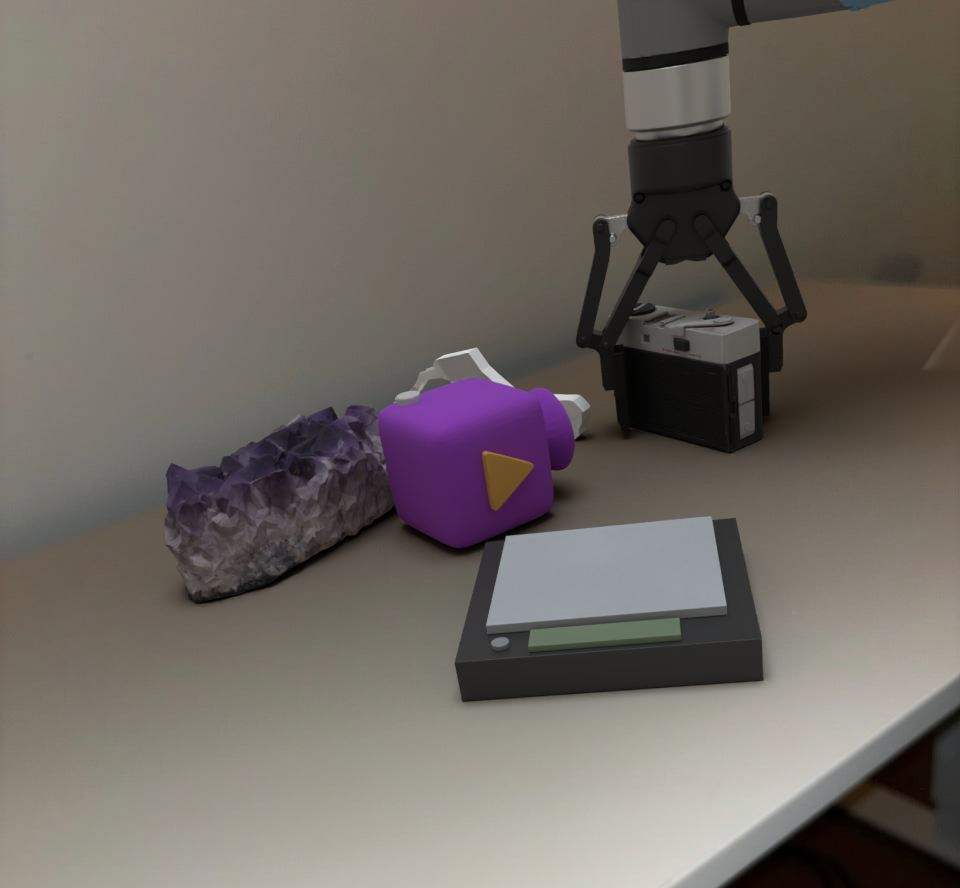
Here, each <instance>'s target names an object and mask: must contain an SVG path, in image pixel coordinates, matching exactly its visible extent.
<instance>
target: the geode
mask: <svg viewBox="0 0 960 888" xmlns="http://www.w3.org/2000/svg"><path fill="white" fill-rule="evenodd" d="M379 414H380V412H379V411H378V410H377V409H376V408H375V407H372V406H369V405H361V404H351V405H349V406H347V407H346V410H345V414H344V416H339V417H338V416H337V413H336V412H335V409H334V407H333V406H328V407H325V408H323V409H321V410H319V411H317V412H315V413H311V414H310V415H308V416H306V415H303V414H300V413H298V414H297V415H296V416H295V417H294V418H292V419H290V420H289V421H288V423H287V424H286V425H285V424H281V425H280V426H278V427H276V428H274V429H273V430H271V432H270V434H269V435H267V436H265V437H264V438H262V439H260V440H258V441H257V442H256V441H250V442H248V443H247V444H246V445H243V446H242V447H239V448H238V449H237V450H236V451H234V452H231V453H230V455H224V456H222V459H221V461H220V464H219V466H217V465H202V466H195V467H192V468H190V469H186V468H184V467H182V466H180V465H178V464H176V463H173V462H170V464H169V466H168V468H167V470H166V473H165V478H166V486H167V497H166V502H165V506H166V510H167V513H166V514H165V516H164V521H163V522H164V525H163V526H164V531H165V534H164V537H165V538H164V546H166V547H167V548H168V550H169V551H170V552H171V554H173V556H174V558H175V569H176V570H177V572H179V573H180V575H181V578H182V579H183V581H184V583H185V586H186V593H187V599H192V600H193V601H194V602H195V603H197V602H200V603H201V602H208V601H211V600H215V599H219V598H224V597H230V596H239V595H241V594H243V593H246V592H247V591H250V590H253V589H257V588H260V587H264V586H266V585H267V584H270V583H272V582H274V581H276V580H277V579H279V577H281V576H283V575H284V574H285V573H287V572H288V571H290V570H291V569H293V568H296V566H298V565H300V564H302V563H304V562H306V561H307V560H309V559H311V557H313V556H314V555H317V554H320V553H322V552H323V551H325V550H327V549H328V548H330V547H332V546H334V545H336V544H339V543H341V542H342V541H343V540H344V539H345V538H346V537H347V536H356V535H357V534H359V532H360V531H361V529H362V528H365V527H367V526H370V525H371V524H372V523H373V522H374V521H375V520H377V519H379V518H380V517H382V516H383V515H385V514H386V513H388V512H389V511H391V510H392V508H393V507H395V504H394V500H393V496H392V491H391V486H390V482H389V477H388V473H387V468H386V463H385V459H384V454H383V449H382V445H381V439H380V434H379V427H378V417H379Z"/></svg>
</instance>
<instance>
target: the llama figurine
mask: <svg viewBox="0 0 960 888" xmlns="http://www.w3.org/2000/svg"><path fill="white" fill-rule="evenodd" d="M468 378H480V379H485V380H489V381H493V382H497V383H500V384H504V385H508V386H511V387H514V385H512V384H511V383H510V382H509V381H508V380H507V379H506V378H504V377H503V376H502V375H501V374H500V373H499V372H497V371H496V369H494V368H493V367H492V366H491V365H490V363H488V361H487V360H486V358H485V356H483V354H482V353H481V351H480V350H479V348H478V347H474V348H469V349H465V350H459V351H456V352H451V353H447V354H443V355H441V356H440V357H438V358H436V359H434V361H433V364H432V366H431V367H427V368H425V370H424V371H420V372H419V373H418V376H417V379H416V381H415V384H413V386H412V387H411V389H410V390H409V391H418V392H420V393H422V391H423V390H424V388H425V386H426V385H427V384H428V382H429V381H430V380H437V379H443V380H445V381H449V382H450V383H454V382H457V381H460V380H463V379H468ZM553 394H554V395H555V396H556V397H557V399H558V400H559V401H560V402H561V404H562V405H563V407H564V409H565V410H566V412H567V414H568V417H569V419H570V422H571V425H572V428H573V432H574V439H575V440H576V439H577V438H578V437H579V436H581V434H583V433H584V432H586V431H587V430H588V428H587V423H588V422H589V419H590V417H591V415H590V414H591V412H590V411H591V410H590V408H591V405H590V403H589V402H588V401H587V400H586V399H585V398H584V397H583V396H582V395H581V394H575V393H574V394H561V393H553ZM394 400H395V401H394V402H393V403H396V402H397V401H396V397H395V398H394Z"/></svg>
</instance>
